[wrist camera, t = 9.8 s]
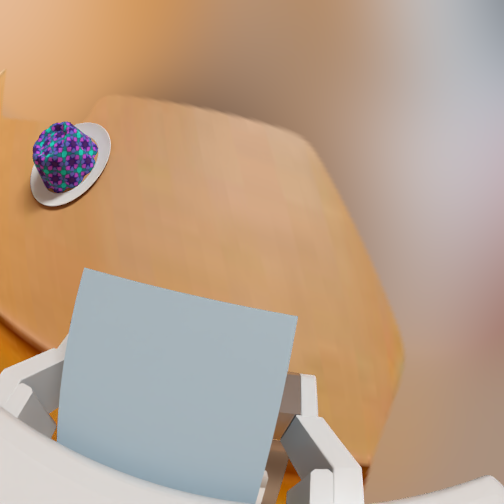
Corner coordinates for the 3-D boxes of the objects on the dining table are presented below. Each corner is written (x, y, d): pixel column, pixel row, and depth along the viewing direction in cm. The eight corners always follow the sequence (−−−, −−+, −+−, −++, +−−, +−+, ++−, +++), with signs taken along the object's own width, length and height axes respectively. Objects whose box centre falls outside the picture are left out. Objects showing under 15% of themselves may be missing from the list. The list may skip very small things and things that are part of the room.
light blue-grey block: (244, 425, 12) (252, 514, 5) (144, 401, 12) (56, 453, 5) (264, 328, 14) (297, 316, 6) (163, 305, 14) (84, 267, 6)
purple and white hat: (121, 180, 29) (103, 153, 24) (36, 225, 27) (10, 207, 22) (105, 112, 32) (92, 85, 27) (32, 153, 30) (14, 132, 25)
